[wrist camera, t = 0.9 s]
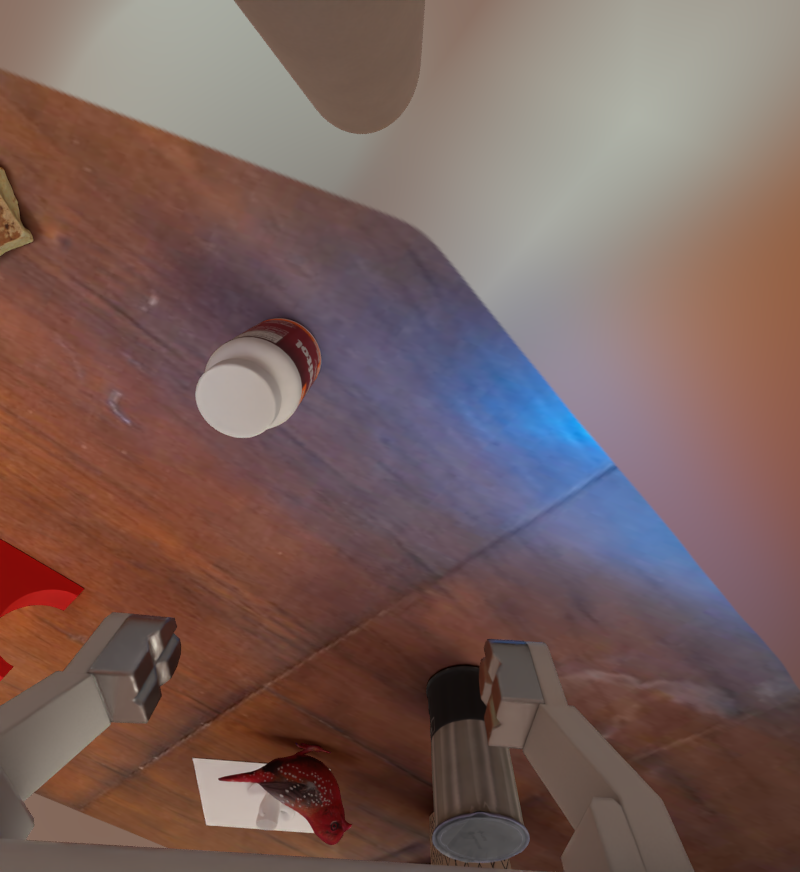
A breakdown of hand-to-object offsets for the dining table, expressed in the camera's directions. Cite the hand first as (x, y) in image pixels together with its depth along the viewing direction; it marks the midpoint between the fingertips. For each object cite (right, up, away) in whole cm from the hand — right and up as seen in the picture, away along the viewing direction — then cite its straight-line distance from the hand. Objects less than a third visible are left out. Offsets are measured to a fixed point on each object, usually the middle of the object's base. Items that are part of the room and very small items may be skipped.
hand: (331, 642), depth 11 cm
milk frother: (+14, -27, +42) cm, 52 cm away
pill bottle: (-8, +12, +23) cm, 28 cm away
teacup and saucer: (-19, -51, +54) cm, 77 cm away
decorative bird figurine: (-12, -37, +47) cm, 62 cm away
